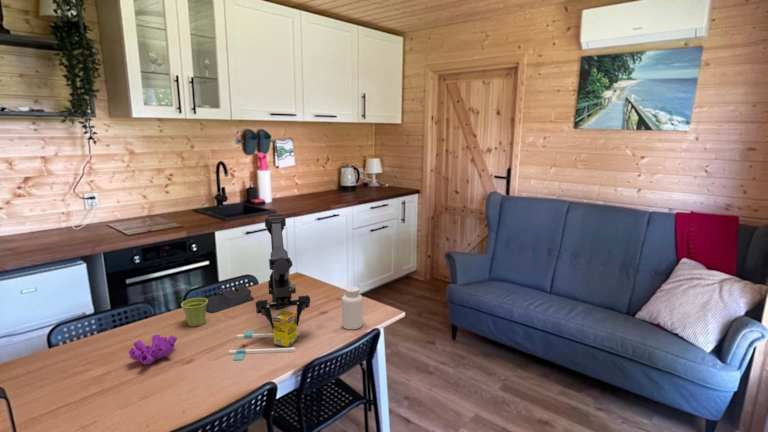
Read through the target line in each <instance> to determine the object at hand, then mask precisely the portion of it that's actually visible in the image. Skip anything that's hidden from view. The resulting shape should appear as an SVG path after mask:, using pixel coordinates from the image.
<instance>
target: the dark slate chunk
mask: <svg viewBox="0 0 768 432" xmlns="http://www.w3.org/2000/svg"><path fill="white" fill-rule="evenodd" d="M220 293H221V294H220V295H219V294H216V295H212V296H211V297H208V298H206V299H207V300H208V302H207V305H206V311H207V313H211V314H216V313H220V312H221V311H222V312H223V311H225V310H229V309H232V308H235V307H238V306H240V305H243V304H246V303H249V302H250V303H251V302H252V301H254V299H255V297H253V296H251V293H252V291H251V290H250V289H249V288H247V287H246V286H245V284H241V285H239V286H235V287H234V289H232V288H228V289H227V290H221V291H220Z"/></svg>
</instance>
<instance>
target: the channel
mask: <svg viewBox="0 0 768 432" xmlns="http://www.w3.org/2000/svg"><path fill="white" fill-rule="evenodd" d="M255 332H256V331H255V330H247V331H246V332H245V333H243V334H237V335H236V339H238V340H239V339H255V338H256V339H257V338H258V339H259V338H260V339H261V338H262V339H263V338H274V332H273V333H270V332H269V333H255ZM299 336H300V332H298V331H297V337H299ZM296 350H297V349H296V347H289V348H283V347H277V348H250V349H249V348H248V349H247V348H242V349H241V348H240V349H239V348H238V349H229V350H228V355H234V358H233V359H232V360H233V361H244V359H245V356H246V354H268V353H272V354H273V353H291V352H292V353H293V352H296ZM233 361H232V362H233Z"/></svg>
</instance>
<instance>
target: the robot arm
mask: <svg viewBox="0 0 768 432" xmlns="http://www.w3.org/2000/svg"><path fill="white" fill-rule="evenodd" d="M286 225H287V224H286V216H283V214H282V213H277V214H267V217H264V227H265V228H266V231H267V232H268V233H269V235H270V241H271V243H270V244H271V251H270V258H269V259H268V263H269V271H271V270H272V271H271V273H270V275H269V280H268V283H267V284H268V285H267V286H268V295H271V301H272V302H268V299H263V300H262V299H261V300H257V301H256V302H255V309H256V310H255V312H256V314H261V316H265V318H266V319H267V321H268V324H270V328H271V329H272V330H274V327H273V315H272V312H271V311H272V309H276V310H280V309H283V308H286V307H294V306H296V326H297V327H299V322H300V317H301V316H302V315H301V314H302V312H303V311H305V310H306V309H309V308H310V306H311V297H310V296H309V294H306V295H299V296H298V297H297V298H298V299H293V298H292V294H296V293H297V291H296V290H297V289H296V283H293V284H291V281H290V271H291V270H290V269H291V268H292V267H293V262H292V259H291V258H290V256H289V255H288V251H287V250H286V248H285V247H284V246H285V245H284V237H283V232H284V229H285V227H286Z"/></svg>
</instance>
